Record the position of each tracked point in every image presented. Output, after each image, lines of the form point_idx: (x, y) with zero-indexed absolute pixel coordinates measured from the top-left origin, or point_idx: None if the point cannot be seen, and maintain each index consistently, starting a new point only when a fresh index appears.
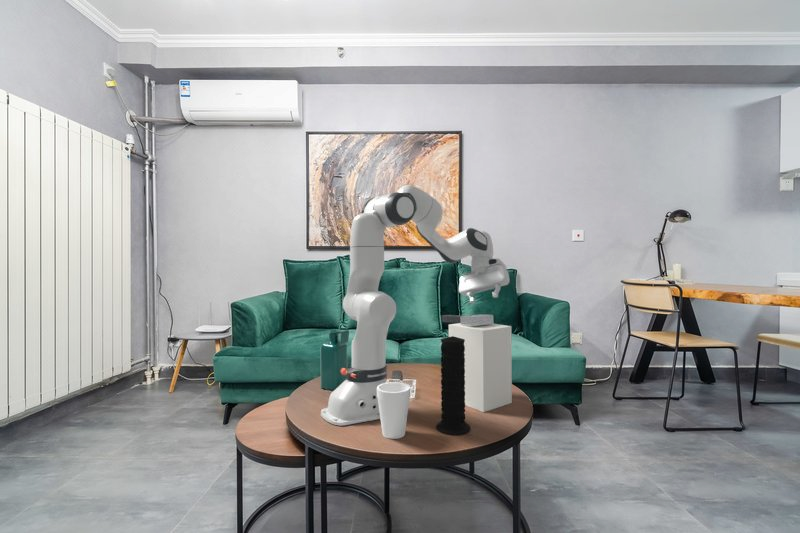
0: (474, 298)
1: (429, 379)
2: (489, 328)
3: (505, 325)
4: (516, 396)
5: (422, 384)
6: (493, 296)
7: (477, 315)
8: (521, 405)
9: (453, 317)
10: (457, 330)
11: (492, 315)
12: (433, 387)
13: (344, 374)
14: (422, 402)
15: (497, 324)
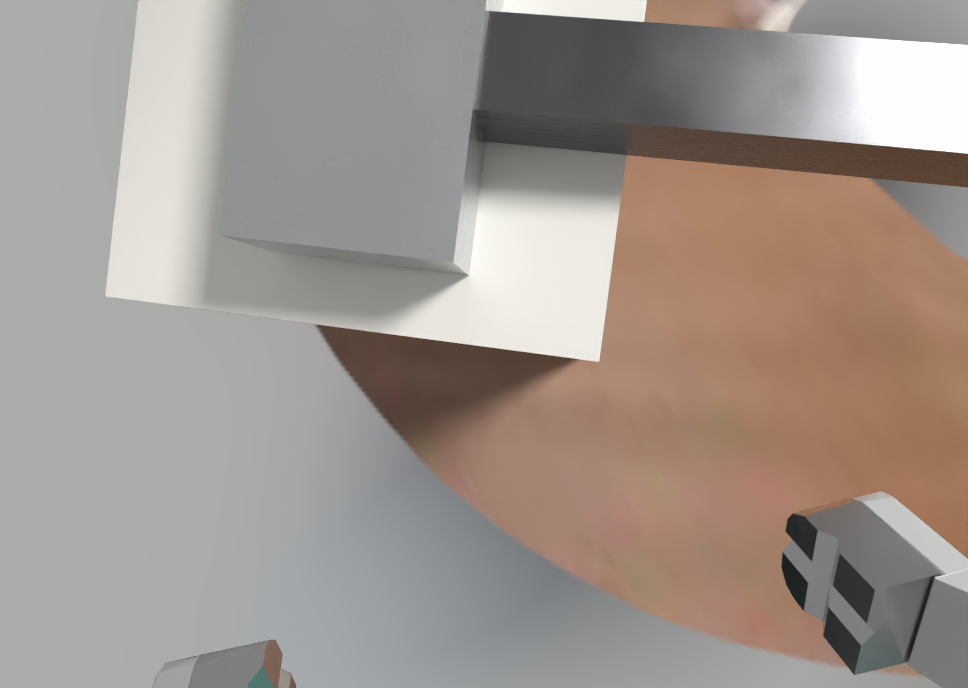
0: (859, 642)
1: (943, 323)
2: (180, 16)
3: (171, 302)
4: (411, 417)
5: (898, 218)
6: (257, 645)
7: (376, 87)
8: (338, 327)
9: (795, 43)
10: None
11: (224, 222)
12: (807, 225)
13: None
14: (677, 14)
15: (264, 303)
